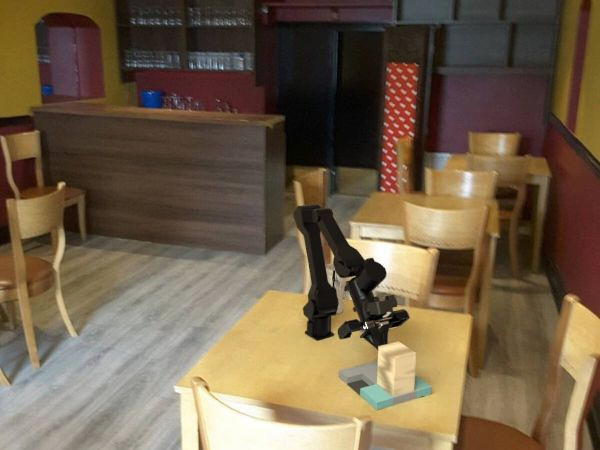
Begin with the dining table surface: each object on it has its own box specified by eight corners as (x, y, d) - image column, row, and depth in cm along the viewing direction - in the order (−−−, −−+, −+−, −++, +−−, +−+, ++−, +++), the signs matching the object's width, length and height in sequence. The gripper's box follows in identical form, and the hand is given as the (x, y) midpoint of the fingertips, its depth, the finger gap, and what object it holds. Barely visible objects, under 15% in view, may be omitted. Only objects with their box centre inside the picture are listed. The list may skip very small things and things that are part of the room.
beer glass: (343, 315, 199) (344, 271, 195) (321, 313, 201) (322, 269, 197) (346, 307, 206) (347, 264, 202) (325, 305, 207) (326, 262, 203)
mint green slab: (359, 395, 152) (360, 388, 151) (413, 381, 159) (413, 373, 159) (376, 410, 146) (377, 402, 145) (431, 394, 153) (431, 386, 152)
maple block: (376, 383, 154) (378, 346, 151) (396, 377, 157) (398, 341, 154) (393, 396, 148) (395, 358, 145) (414, 390, 150) (416, 352, 148)
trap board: (338, 377, 161) (338, 370, 160) (389, 363, 168) (390, 357, 167) (376, 410, 146) (377, 402, 145) (431, 394, 153) (431, 386, 152)
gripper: (344, 291, 150) (368, 351, 144) (407, 279, 158) (432, 336, 152) (327, 310, 159) (349, 368, 152) (388, 298, 167) (411, 352, 161)
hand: (386, 355), depth 154 cm, fingers closed
